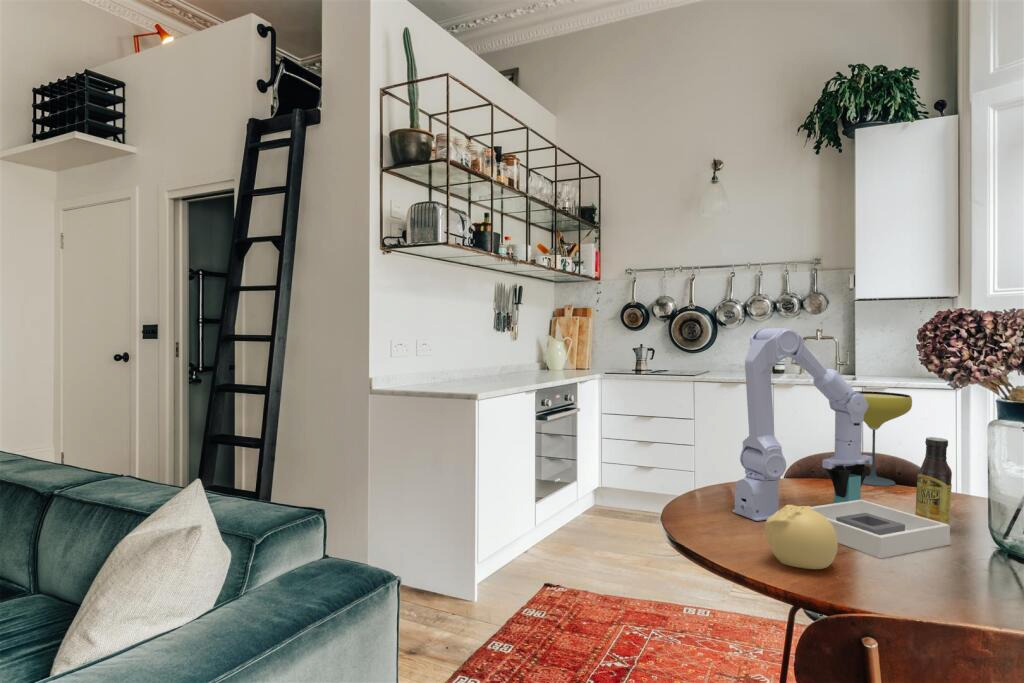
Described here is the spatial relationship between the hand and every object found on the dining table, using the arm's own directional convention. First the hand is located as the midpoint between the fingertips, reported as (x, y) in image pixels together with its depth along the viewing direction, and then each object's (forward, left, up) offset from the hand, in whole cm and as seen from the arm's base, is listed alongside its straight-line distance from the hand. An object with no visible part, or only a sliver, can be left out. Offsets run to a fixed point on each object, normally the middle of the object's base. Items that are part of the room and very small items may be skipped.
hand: (847, 495), depth 150 cm
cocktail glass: (+30, +16, -3) cm, 34 cm away
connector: (0, 0, -3) cm, 3 cm away
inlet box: (-13, -16, -3) cm, 21 cm away
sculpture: (-39, -22, -3) cm, 45 cm away
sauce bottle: (+4, -18, -3) cm, 19 cm away
